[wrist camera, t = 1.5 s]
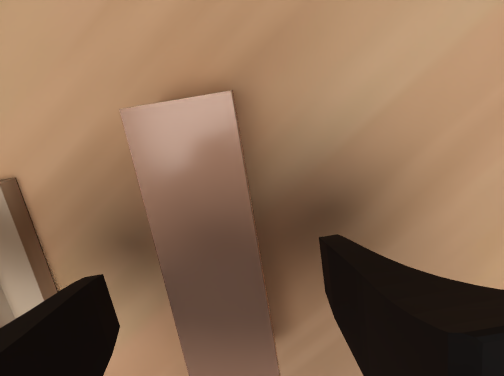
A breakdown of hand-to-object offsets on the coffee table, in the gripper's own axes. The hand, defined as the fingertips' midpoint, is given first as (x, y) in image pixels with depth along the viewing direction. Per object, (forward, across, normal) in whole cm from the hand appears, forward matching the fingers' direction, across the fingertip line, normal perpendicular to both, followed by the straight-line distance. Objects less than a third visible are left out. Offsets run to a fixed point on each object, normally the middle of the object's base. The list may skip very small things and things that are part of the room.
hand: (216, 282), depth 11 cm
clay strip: (+4, 0, 0) cm, 4 cm away
